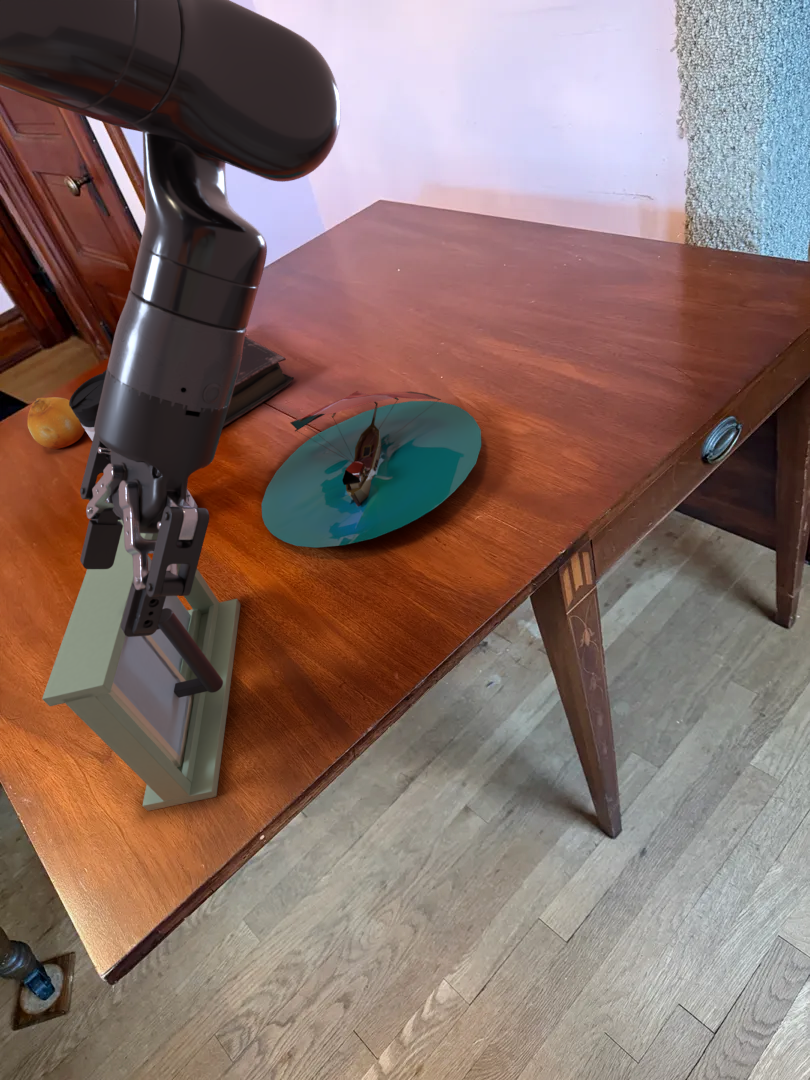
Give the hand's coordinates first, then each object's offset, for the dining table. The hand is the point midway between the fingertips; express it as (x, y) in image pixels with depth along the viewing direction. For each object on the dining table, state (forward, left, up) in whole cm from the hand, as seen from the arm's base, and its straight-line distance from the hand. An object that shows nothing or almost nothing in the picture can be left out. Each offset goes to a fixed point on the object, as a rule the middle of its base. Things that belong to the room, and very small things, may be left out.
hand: (115, 598), depth 52 cm
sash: (+1, +4, -20) cm, 20 cm away
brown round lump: (+41, +61, -21) cm, 76 cm away
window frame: (+4, +8, -21) cm, 23 cm away
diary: (+55, +41, -21) cm, 72 cm away
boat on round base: (+37, +4, -21) cm, 43 cm away
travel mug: (+27, +28, -21) cm, 44 cm away
